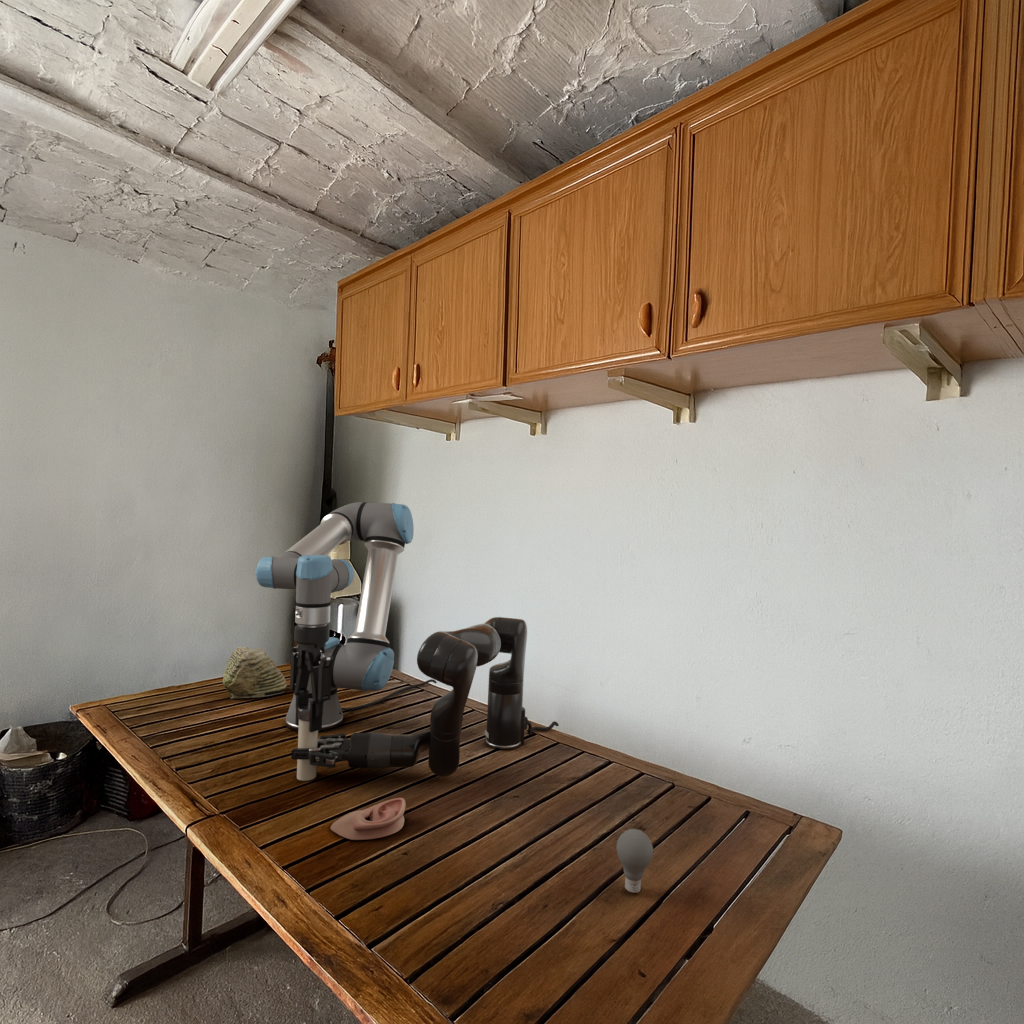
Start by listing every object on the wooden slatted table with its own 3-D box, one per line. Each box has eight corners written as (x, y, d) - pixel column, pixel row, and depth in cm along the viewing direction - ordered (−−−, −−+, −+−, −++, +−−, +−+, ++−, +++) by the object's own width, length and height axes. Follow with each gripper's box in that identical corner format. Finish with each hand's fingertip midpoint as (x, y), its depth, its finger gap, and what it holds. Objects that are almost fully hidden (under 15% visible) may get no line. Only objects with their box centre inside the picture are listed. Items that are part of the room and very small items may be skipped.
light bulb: (610, 879, 108) (613, 822, 108) (644, 879, 109) (647, 822, 109) (619, 902, 102) (622, 840, 102) (655, 901, 103) (658, 840, 103)
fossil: (218, 695, 195) (220, 647, 195) (278, 685, 208) (279, 640, 207) (228, 703, 189) (230, 653, 188) (289, 692, 201) (290, 645, 201)
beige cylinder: (292, 777, 142) (295, 708, 142) (308, 770, 146) (311, 704, 146) (304, 782, 140) (306, 713, 140) (320, 776, 143) (322, 708, 143)
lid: (295, 720, 140) (295, 709, 140) (300, 713, 145) (301, 702, 145) (317, 720, 140) (317, 710, 140) (321, 713, 145) (322, 703, 145)
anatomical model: (323, 814, 118) (350, 787, 130) (322, 835, 118) (350, 806, 130) (389, 824, 116) (412, 796, 127) (389, 846, 116) (411, 816, 127)
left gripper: (275, 620, 145) (271, 721, 145) (321, 633, 134) (317, 742, 134) (304, 616, 151) (300, 713, 151) (350, 628, 140) (346, 733, 140)
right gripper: (376, 722, 151) (303, 721, 150) (367, 746, 137) (286, 745, 135) (375, 754, 151) (302, 753, 150) (366, 780, 137) (285, 779, 136)
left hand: (308, 726), depth 143 cm, fingers closed on lid, 5 cm apart
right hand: (295, 749), depth 143 cm, fingers closed on beige cylinder, 4 cm apart
